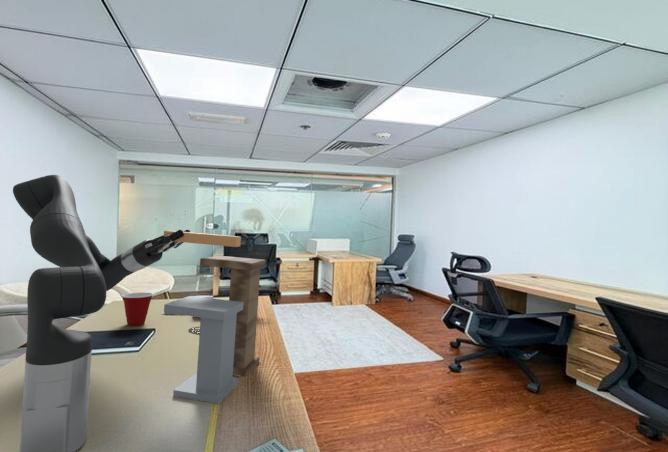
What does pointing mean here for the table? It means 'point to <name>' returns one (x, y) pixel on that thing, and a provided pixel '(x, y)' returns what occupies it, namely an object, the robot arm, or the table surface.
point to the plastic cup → (136, 307)
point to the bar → (208, 239)
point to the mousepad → (194, 330)
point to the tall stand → (246, 291)
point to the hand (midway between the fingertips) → (186, 232)
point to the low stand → (210, 347)
